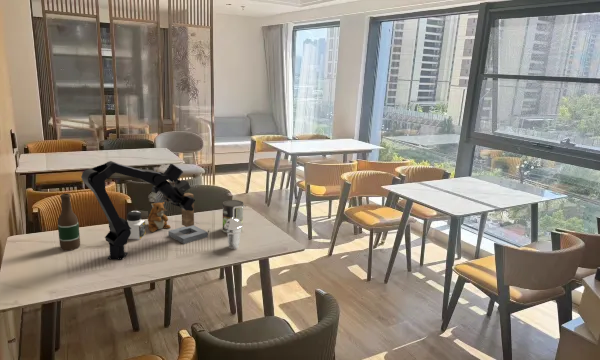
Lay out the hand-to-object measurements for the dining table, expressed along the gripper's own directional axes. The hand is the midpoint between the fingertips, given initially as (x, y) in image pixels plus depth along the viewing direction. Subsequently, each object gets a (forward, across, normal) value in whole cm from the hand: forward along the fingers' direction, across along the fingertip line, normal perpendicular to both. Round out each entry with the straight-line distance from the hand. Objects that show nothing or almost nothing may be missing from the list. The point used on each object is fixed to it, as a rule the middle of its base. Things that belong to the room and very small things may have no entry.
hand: (190, 209), depth 199 cm
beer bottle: (-23, +22, +42) cm, 53 cm away
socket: (+9, 0, +10) cm, 13 cm away
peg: (+4, 0, +6) cm, 8 cm away
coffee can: (+24, -7, -4) cm, 25 cm away
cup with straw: (+15, -24, +4) cm, 28 cm away
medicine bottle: (-4, +16, +24) cm, 29 cm away
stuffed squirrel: (+5, +20, +14) cm, 25 cm away
